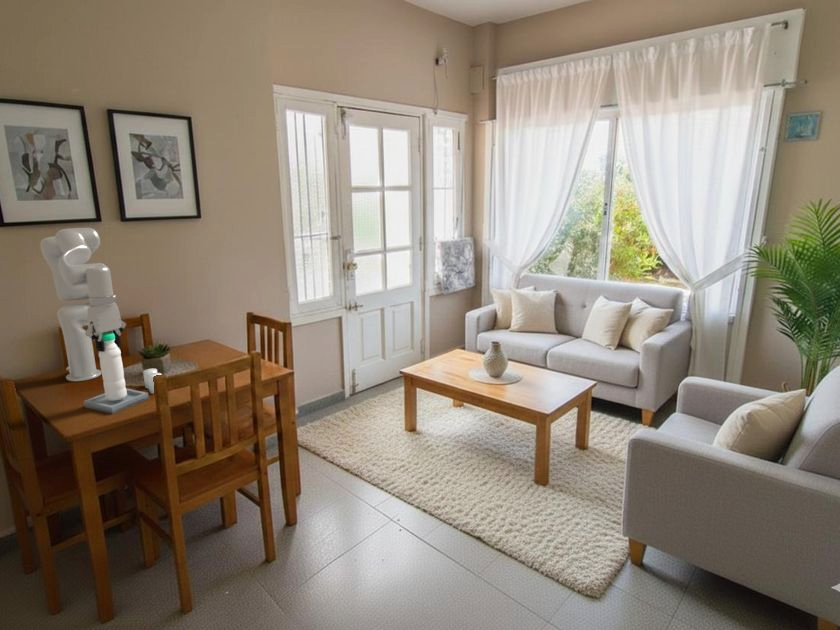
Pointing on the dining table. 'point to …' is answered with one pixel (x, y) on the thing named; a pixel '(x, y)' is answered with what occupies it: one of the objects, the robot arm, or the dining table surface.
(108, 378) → the water bottle
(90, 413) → the dining table surface
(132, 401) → the tray
